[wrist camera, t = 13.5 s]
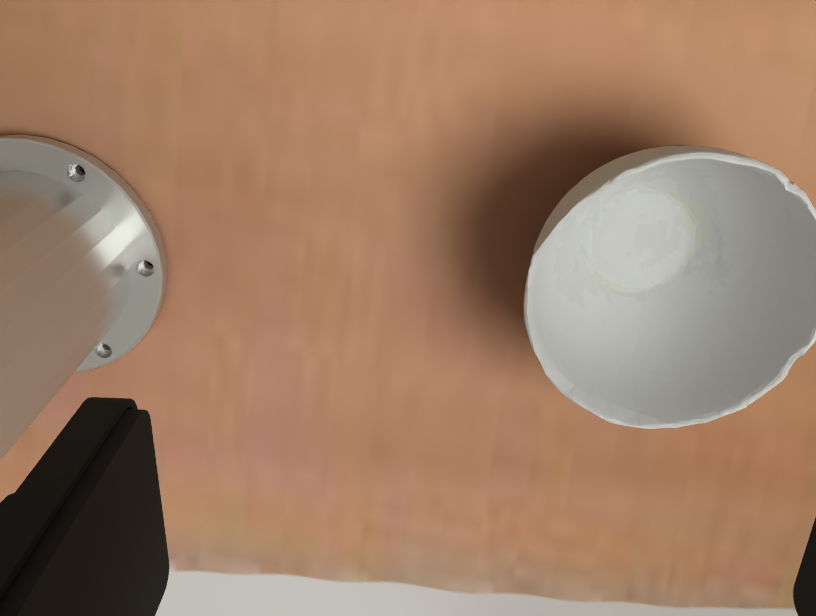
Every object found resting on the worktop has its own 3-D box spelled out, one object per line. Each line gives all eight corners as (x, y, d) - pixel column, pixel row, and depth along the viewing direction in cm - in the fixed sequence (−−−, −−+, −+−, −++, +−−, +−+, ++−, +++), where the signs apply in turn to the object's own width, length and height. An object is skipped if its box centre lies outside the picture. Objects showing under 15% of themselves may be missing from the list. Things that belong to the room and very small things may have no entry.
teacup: (493, 340, 41) (507, 423, 34) (522, 103, 36) (547, 141, 29) (772, 359, 41) (846, 446, 34) (843, 125, 36) (947, 169, 29)
